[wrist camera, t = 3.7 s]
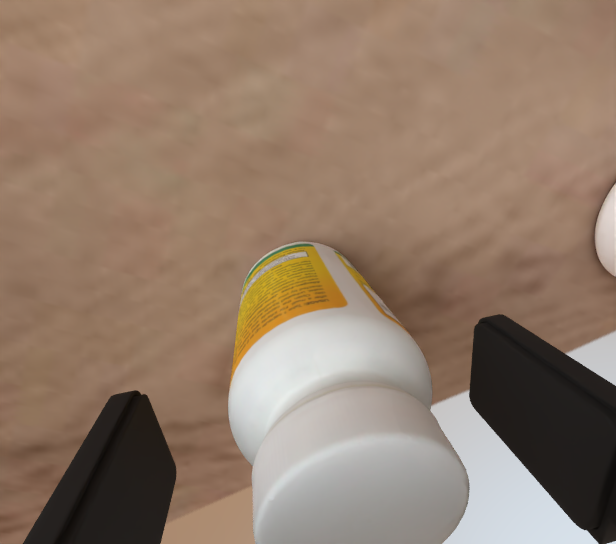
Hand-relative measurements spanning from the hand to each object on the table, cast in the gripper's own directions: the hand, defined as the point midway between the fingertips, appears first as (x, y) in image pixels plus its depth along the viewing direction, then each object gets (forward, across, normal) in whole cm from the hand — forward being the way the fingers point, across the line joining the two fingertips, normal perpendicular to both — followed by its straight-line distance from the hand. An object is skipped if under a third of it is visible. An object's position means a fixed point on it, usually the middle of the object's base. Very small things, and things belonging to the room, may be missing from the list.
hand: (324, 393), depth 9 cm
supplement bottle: (+6, 0, 0) cm, 6 cm away
